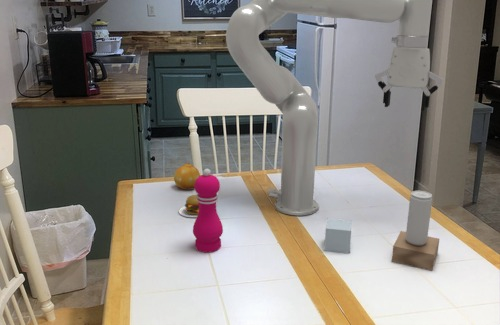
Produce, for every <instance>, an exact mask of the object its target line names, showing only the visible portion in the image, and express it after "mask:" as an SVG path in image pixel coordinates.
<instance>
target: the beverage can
mask: <svg viewBox="0 0 500 325" xmlns="http://www.w3.org/2000/svg"><path fill="white" fill-rule="evenodd" d="M432 206H433V194H432V193H430V192H428V191H425V190H413V191H411V193H410V196H409V205H408V212H407V213H408V214H407V222H406V231H405V232H406V238H405V239H406V241H407V242H408V243H409V244H412V245H415V246H422V245H424V244H426V242H427V237H428V236H429V229H430V219H431V212H432Z"/></svg>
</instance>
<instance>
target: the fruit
mask: <svg viewBox="0 0 500 325" xmlns="http://www.w3.org/2000/svg"><path fill="white" fill-rule="evenodd" d="M199 176H201V173H200V171H199V169H198V168H197V167H196V166H194V165H193V164H191V163H190V162H189V163H188V162H186V163H185V162H184V163H183V164H182V166H179V167H178V168H177V169H176V170H175V173H174V175H173V179H174V180H173V181H174V183H175V186H177V187H178V188H179V189H182V190H193V189H195V188H194V185H195V181H196V179H197V178H198V177H199Z"/></svg>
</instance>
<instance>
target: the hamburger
mask: <svg viewBox="0 0 500 325" xmlns="http://www.w3.org/2000/svg"><path fill="white" fill-rule="evenodd" d="M183 211H186V213H187V214H188V216H187V215H185V214H183ZM198 212H199V202H198V201H197V194H193V195H190V196H188V197H187V198H186V201H185V204H184V206H182V207H181V208H179V210H178V213H179V214H180V215H181V216H183V217H187V218H190V216H189V215H193V216H192V218H195V216H198Z"/></svg>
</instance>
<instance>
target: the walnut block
mask: <svg viewBox="0 0 500 325" xmlns="http://www.w3.org/2000/svg"><path fill="white" fill-rule="evenodd" d="M405 238H406V231H404V230H403V231H402V230H401V231H399V234H398V236H397V237H396V240H395V242H394V244H393V246H392V254H391V262H392V263H396V264H401V265H405V266H410V267H414V268H419V269H424V270H428V271H431V272H432V271H433V269H434V266H435V263H436V259H437V256H438V252H439V246H440V245H439V244H440V238H438V237H432V236H429V235H428V237H427V242H426V244H424V245H422V246H415V245H412V244H409V243H408V242H407V241H406V239H405Z"/></svg>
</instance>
